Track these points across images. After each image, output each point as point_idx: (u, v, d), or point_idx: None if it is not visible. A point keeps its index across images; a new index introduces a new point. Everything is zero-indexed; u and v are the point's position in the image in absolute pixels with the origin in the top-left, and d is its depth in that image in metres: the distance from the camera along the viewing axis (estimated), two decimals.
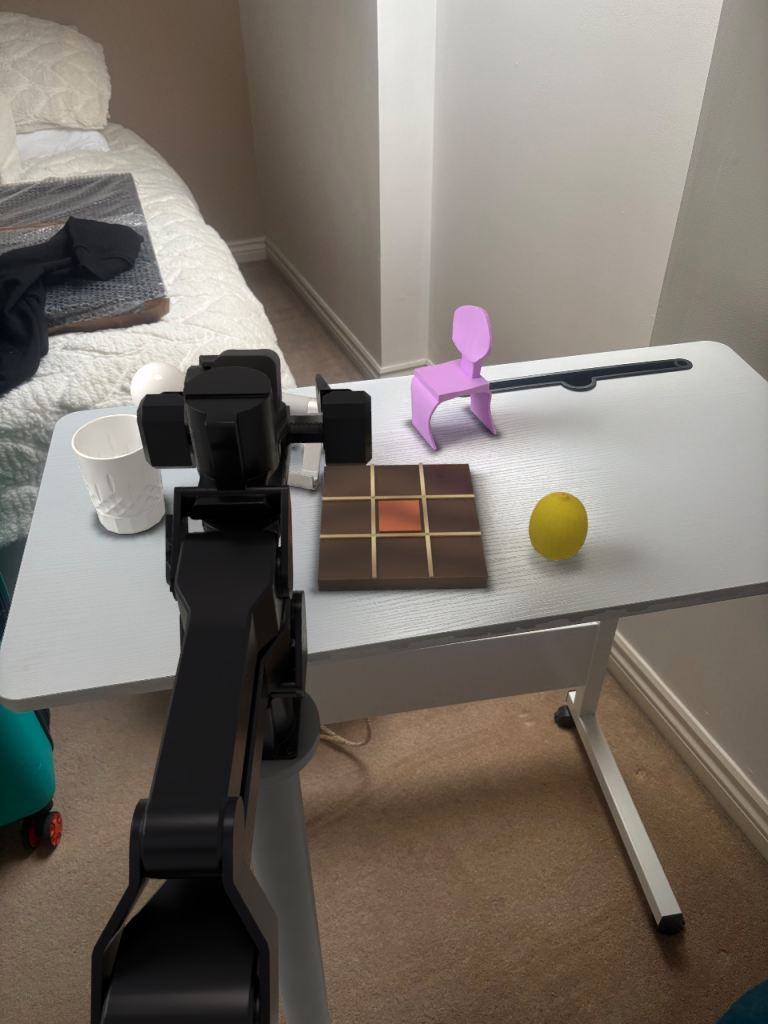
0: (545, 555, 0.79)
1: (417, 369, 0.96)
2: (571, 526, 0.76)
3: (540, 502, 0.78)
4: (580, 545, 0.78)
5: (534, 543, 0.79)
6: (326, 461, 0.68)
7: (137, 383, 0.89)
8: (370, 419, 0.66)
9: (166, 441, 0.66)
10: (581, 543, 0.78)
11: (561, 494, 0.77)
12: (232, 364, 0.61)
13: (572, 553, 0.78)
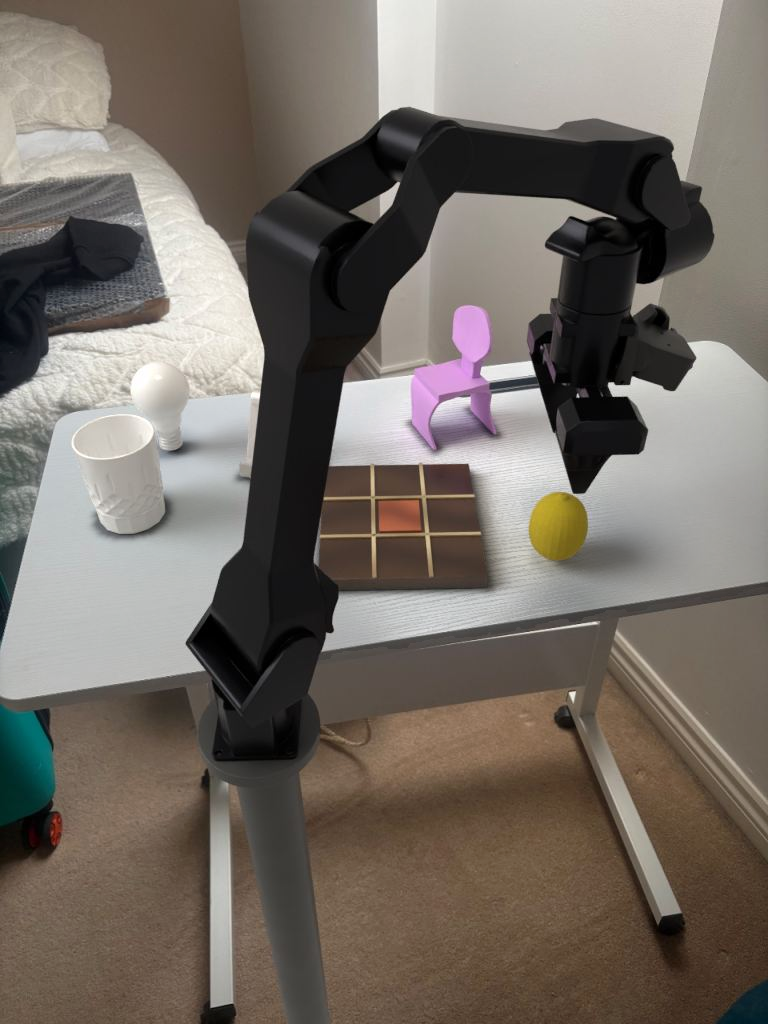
0: (545, 555, 0.79)
1: (417, 369, 0.96)
2: (571, 526, 0.76)
3: (540, 502, 0.78)
4: (580, 545, 0.78)
5: (534, 543, 0.79)
6: (574, 398, 0.64)
7: (137, 383, 0.89)
8: (633, 429, 0.61)
9: None
10: (581, 543, 0.78)
11: (561, 494, 0.77)
12: (680, 340, 0.68)
13: (572, 553, 0.78)
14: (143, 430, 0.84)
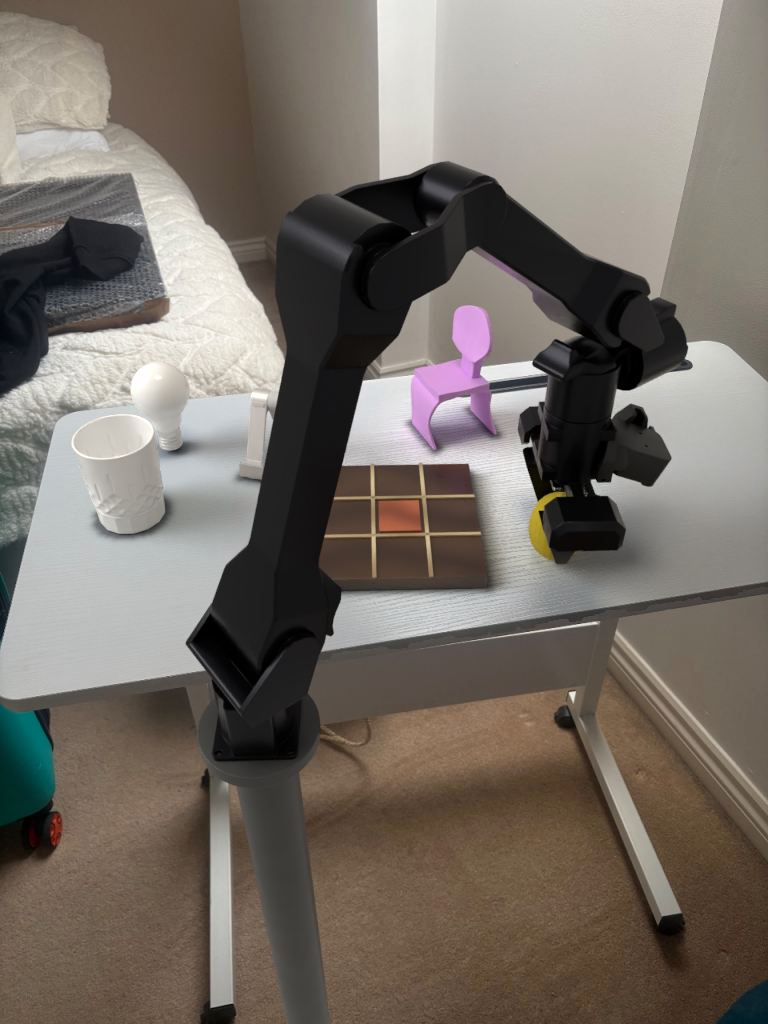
0: (545, 555, 0.79)
1: (417, 369, 0.96)
2: None
3: (540, 502, 0.78)
4: None
5: (534, 543, 0.79)
6: (559, 497, 0.70)
7: (137, 383, 0.89)
8: (612, 529, 0.67)
9: None
10: None
11: (561, 494, 0.77)
12: (657, 439, 0.74)
13: None
14: (143, 430, 0.84)
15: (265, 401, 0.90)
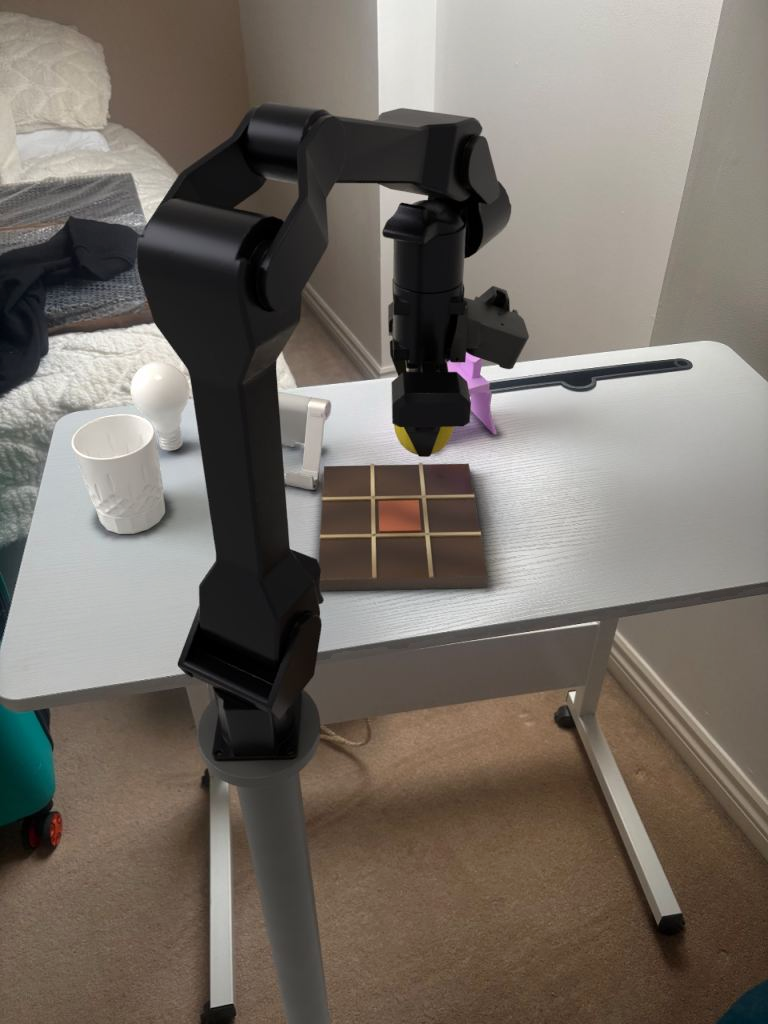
0: (409, 448, 0.76)
1: None
2: None
3: None
4: (445, 437, 0.75)
5: (398, 436, 0.76)
6: (405, 373, 0.67)
7: (137, 383, 0.89)
8: (455, 401, 0.64)
9: None
10: (445, 435, 0.75)
11: None
12: (518, 321, 0.71)
13: (436, 446, 0.75)
14: (143, 430, 0.84)
15: None
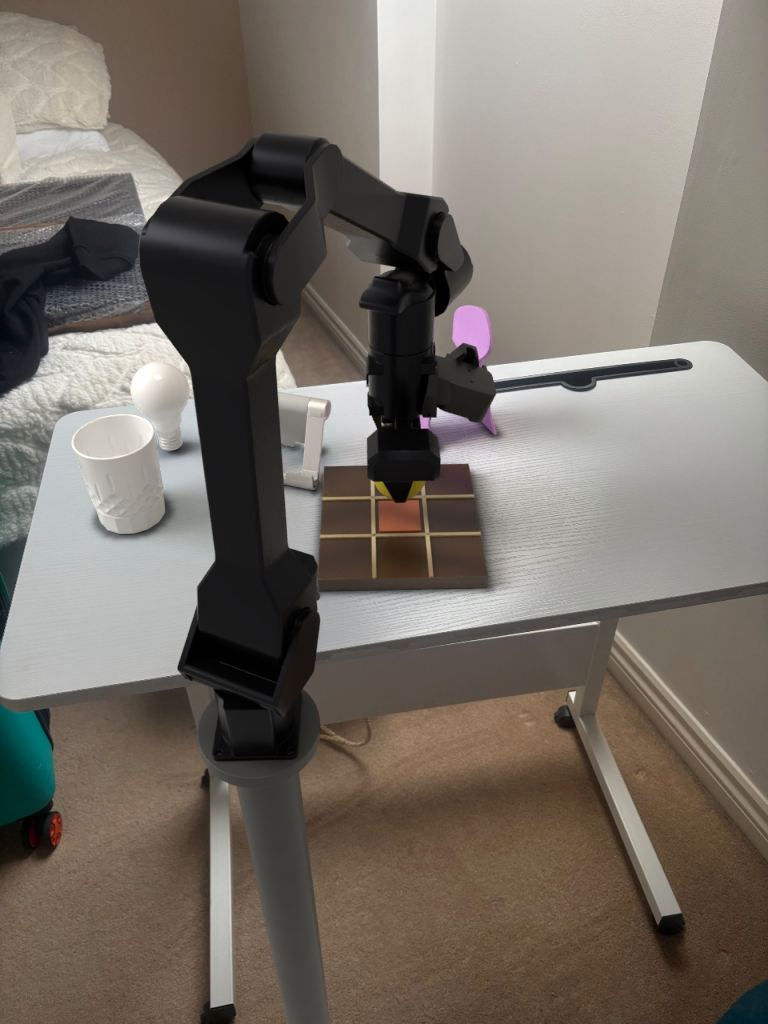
0: (386, 494, 0.80)
1: None
2: None
3: None
4: (419, 484, 0.79)
5: (375, 483, 0.80)
6: (379, 430, 0.71)
7: (137, 383, 0.89)
8: (425, 458, 0.69)
9: None
10: (420, 482, 0.79)
11: None
12: (486, 377, 0.75)
13: (412, 492, 0.80)
14: (143, 430, 0.84)
15: None
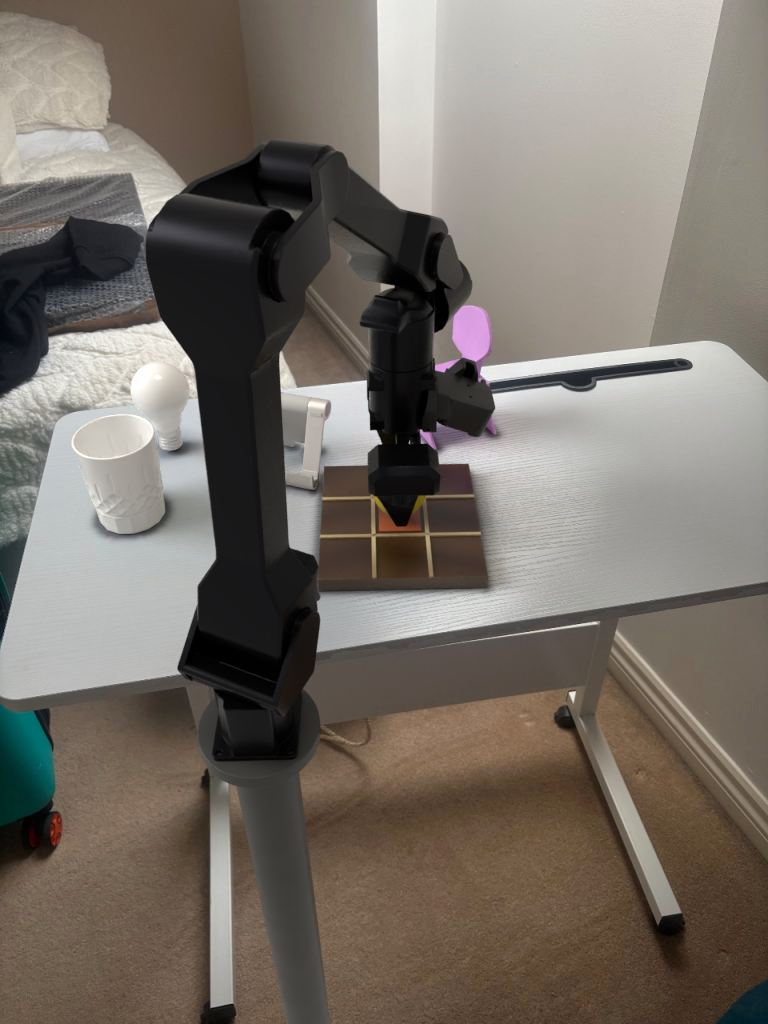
0: (386, 511, 0.82)
1: None
2: None
3: None
4: (419, 501, 0.81)
5: (375, 500, 0.82)
6: (380, 445, 0.72)
7: (137, 383, 0.89)
8: (425, 473, 0.70)
9: None
10: (419, 499, 0.81)
11: None
12: (485, 391, 0.76)
13: None
14: (143, 430, 0.84)
15: None
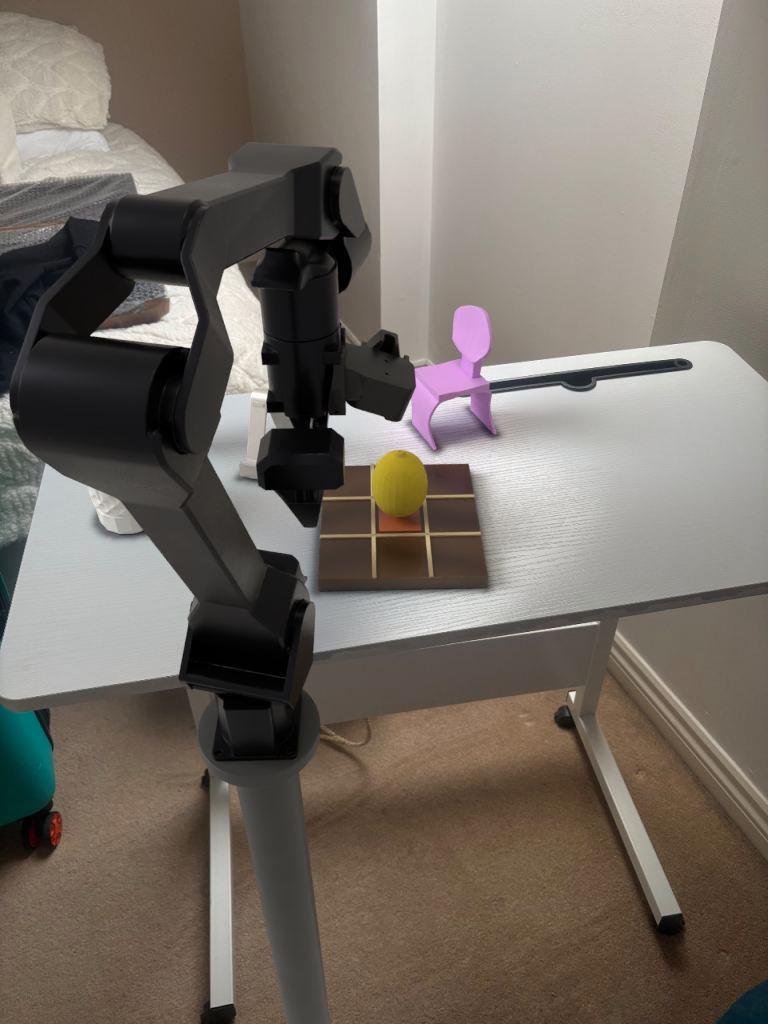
0: (386, 511, 0.82)
1: (417, 369, 0.96)
2: (406, 481, 0.79)
3: (380, 459, 0.81)
4: (419, 501, 0.81)
5: (375, 500, 0.82)
6: (274, 429, 0.60)
7: None
8: (324, 463, 0.58)
9: None
10: (419, 499, 0.81)
11: (397, 451, 0.79)
12: (407, 368, 0.65)
13: (411, 509, 0.81)
14: None
15: (265, 401, 0.90)
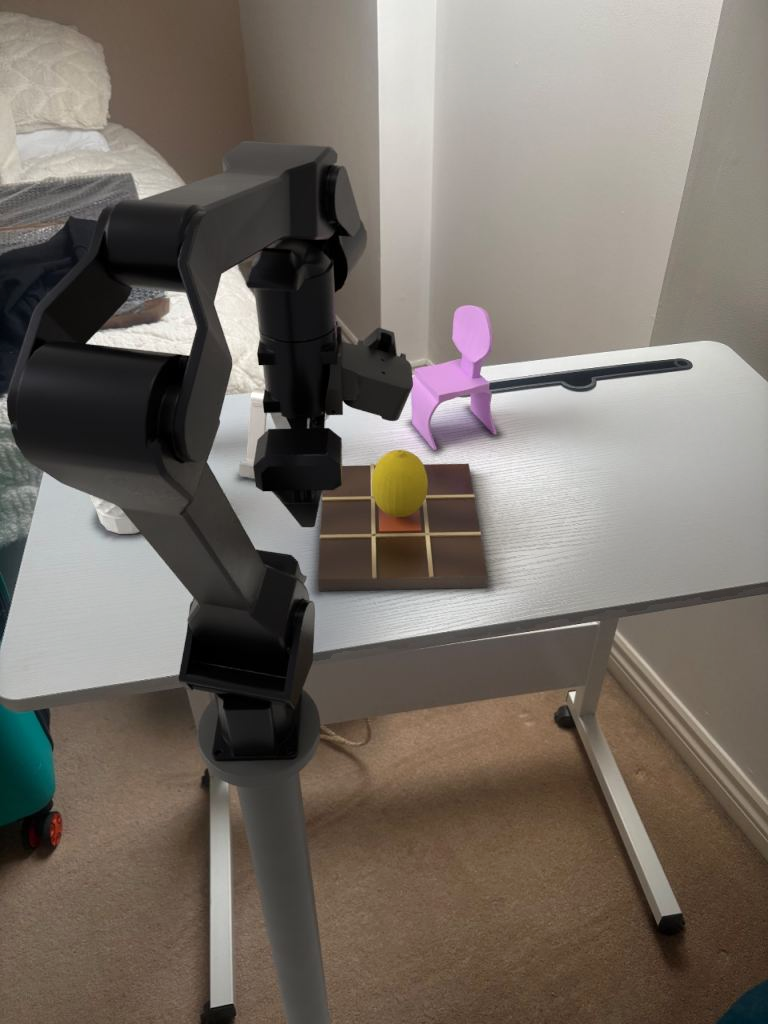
0: (386, 511, 0.82)
1: (417, 369, 0.96)
2: (406, 481, 0.79)
3: (380, 460, 0.81)
4: (419, 501, 0.81)
5: (375, 500, 0.82)
6: (271, 429, 0.60)
7: None
8: (321, 463, 0.58)
9: None
10: (419, 499, 0.81)
11: (397, 451, 0.79)
12: (403, 367, 0.64)
13: (411, 509, 0.81)
14: None
15: None
